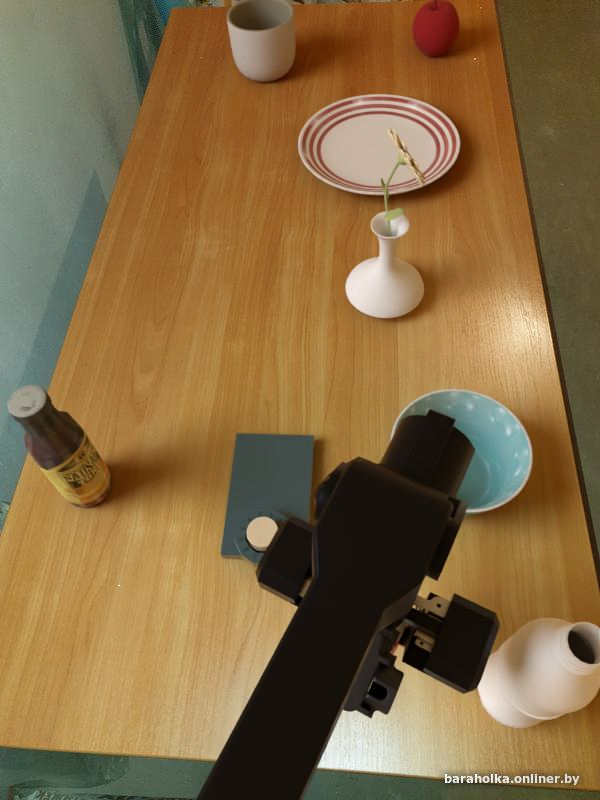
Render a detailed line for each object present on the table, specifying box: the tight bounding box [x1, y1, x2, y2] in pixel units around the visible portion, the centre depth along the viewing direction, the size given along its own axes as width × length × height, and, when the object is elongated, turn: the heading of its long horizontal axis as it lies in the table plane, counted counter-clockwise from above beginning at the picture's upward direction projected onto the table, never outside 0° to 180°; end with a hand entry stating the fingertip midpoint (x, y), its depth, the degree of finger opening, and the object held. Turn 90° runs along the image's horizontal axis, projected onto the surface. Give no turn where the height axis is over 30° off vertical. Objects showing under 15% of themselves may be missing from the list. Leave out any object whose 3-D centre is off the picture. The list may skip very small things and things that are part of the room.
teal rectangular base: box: [220, 432, 315, 568], centre depth 77 cm, size 17×10×3 cm, turn 176°
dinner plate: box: [297, 93, 461, 196], centre depth 109 cm, size 28×27×3 cm
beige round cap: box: [247, 517, 278, 551], centre depth 72 cm, size 4×4×2 cm
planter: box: [226, 0, 297, 83], centre depth 121 cm, size 12×12×11 cm
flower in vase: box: [345, 127, 426, 320], centre depth 84 cm, size 13×11×25 cm
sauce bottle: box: [6, 384, 112, 509], centre depth 72 cm, size 6×6×20 cm
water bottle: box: [477, 617, 600, 729], centre depth 55 cm, size 7×7×25 cm
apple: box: [411, 0, 461, 57], centre depth 122 cm, size 9×9×10 cm
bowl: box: [389, 388, 534, 518], centre depth 75 cm, size 16×16×8 cm
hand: (369, 622), depth 58 cm, fingers closed on pill bottle, 6 cm apart
